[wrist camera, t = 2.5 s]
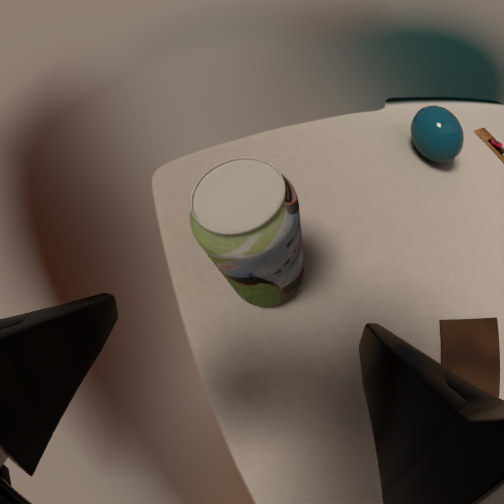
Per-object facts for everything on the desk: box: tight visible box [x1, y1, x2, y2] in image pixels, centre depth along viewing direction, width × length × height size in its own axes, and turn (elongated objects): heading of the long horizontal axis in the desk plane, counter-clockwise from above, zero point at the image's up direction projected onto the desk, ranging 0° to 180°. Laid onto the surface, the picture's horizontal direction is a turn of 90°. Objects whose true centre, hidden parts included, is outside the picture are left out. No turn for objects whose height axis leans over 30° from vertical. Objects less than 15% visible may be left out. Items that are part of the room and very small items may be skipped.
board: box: [474, 128, 504, 163], centre depth 33 cm, size 6×12×2 cm, turn 26°
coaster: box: [440, 318, 500, 397], centre depth 18 cm, size 9×9×1 cm
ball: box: [411, 106, 463, 163], centre depth 28 cm, size 8×8×8 cm
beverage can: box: [190, 157, 304, 307], centre depth 19 cm, size 6×7×12 cm
